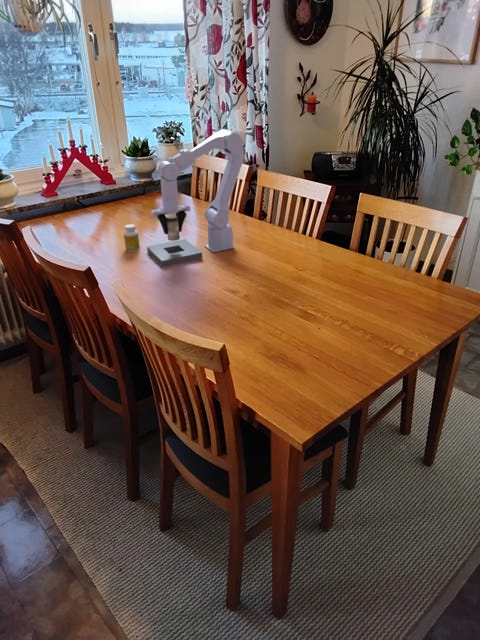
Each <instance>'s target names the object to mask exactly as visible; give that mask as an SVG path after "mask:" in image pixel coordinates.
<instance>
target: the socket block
mask: <svg viewBox="0 0 480 640" xmlns="http://www.w3.org/2000/svg"><path fill="white" fill-rule="evenodd" d="M146 250H147V254H149V255H150V256H151V257H152V258H153V260H154V261H156V262H157V264H159V266H161V267H162V268H166V267H171V266H175V265H179V264H183V263H189V262H194V261H198V260H203V252H202V251H200V250H199V249H198V248H197V247H196V246H194V244H192V243H191V242H190V241H188V240H187V239H186V238H184V239H179V240H175V241H169V242H163V243H158V244H153V245H148V246H146Z"/></svg>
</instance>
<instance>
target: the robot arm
mask: <svg viewBox="0 0 480 640" xmlns="http://www.w3.org/2000/svg"><path fill="white" fill-rule="evenodd" d="M244 144H245V141H244V139H243V137H242V136H241V134H239V133H238V132H235V131H233V130H229V129H227V128H222V129H220V130H218V131H216V132H214V133H213V134H212V135H211V136H209V137H208V138H207V139H205V140H203V141H202V142H201V143H199V144H198V145H197V146H195V147H193V149H191V150H188V149H181V150H179V153H178V154H176V155H174V156H172V157H171V156H170V157H169V158H168V159H167V160H163V161H161V162H160V163H159V165H158V166H157V170H156V171H157V173H158V175H159V176H160V190H161V200H162V201H161V202H162V206H161V207H160V208H159V207H158V208H157V209H153V210H151V211H150V213H151V217H152V218H157V219H158V220H159V223H160V225H161V227H162V230H163V234H164V235H167V234H168V230H167V218H166V217H167V216H166V215H171V214H175V216H177V217H179V220H178V226H179V233H181V232H182V231H183V230H182V229H183V224H184V222H185V219H186V217H187V212H191V205H189V204H182V205H181V204H180V205H179V193H178V182H177V181H178V180H177V178H178V177H179V174H181V173H183V172H184V171H186V170H187V169H188V168H191V167H192V166H194V165H195V163H196V160H197V159H199V158H200V157H202V156H204V155H206V154H207V153H209V152H211V151H213V150H216V149H218V150H223V151H224V153H225V155H226V157H227V159H228V160H227V162H226V165H225V168H224V170H223V174H222V177H221V180H220V183H219V186H218V189H217V193H216V195H215V198H214V200H212V201H211V202H210V204H209V206H208V207H207V209H205V212H204V218H205V220H206V221H207V244H204V247H205V248H206V249H208V250H209V251H210V252H212V253H217V252H221V251H225V250H230V249H234V248H235V247H234V230H233V227H232V225H231V224H229V221H230V219H229V218H230V217H229V214H230V207H229V203H230V200H231V197H232V194H233V191H234V188H235V185H236V182H237V179H238V177H239V174H240V172H241V171H240V170H241V168H242V165H243V162H244V159H245V158H244V157H245V154H244Z"/></svg>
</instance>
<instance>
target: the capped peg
mask: <svg viewBox="0 0 480 640" xmlns="http://www.w3.org/2000/svg"><path fill="white" fill-rule="evenodd" d="M166 218H167V230H168V234H166V235H167V240H168V241H169V242H173V241H178V240H181V238H180V237H181V236H180V232H179V226H178V220H179V217H177V216H176V215H170V216H166Z"/></svg>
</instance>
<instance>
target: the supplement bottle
mask: <svg viewBox="0 0 480 640" xmlns="http://www.w3.org/2000/svg"><path fill="white" fill-rule="evenodd" d="M124 230H125V231H124V232H123V239H124V244H125V251H126V252H131V253H132V252H134V253H135V252H137V251H139V250H140V240H139V239H140V238H139V234H138V233H139V231H138V230H136V224H132V223H131V224H125V225H124Z"/></svg>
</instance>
